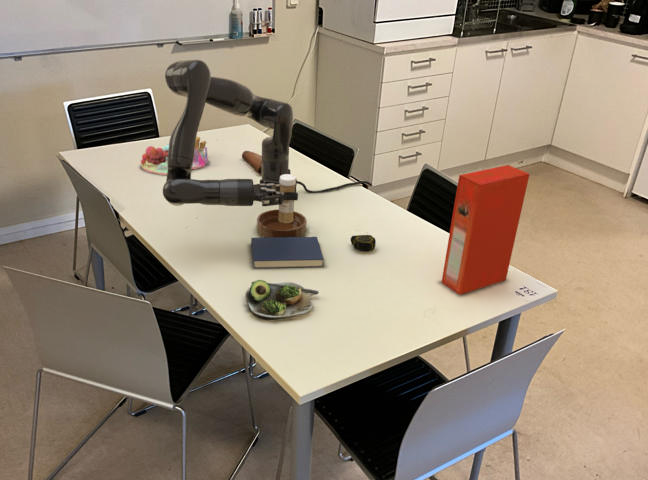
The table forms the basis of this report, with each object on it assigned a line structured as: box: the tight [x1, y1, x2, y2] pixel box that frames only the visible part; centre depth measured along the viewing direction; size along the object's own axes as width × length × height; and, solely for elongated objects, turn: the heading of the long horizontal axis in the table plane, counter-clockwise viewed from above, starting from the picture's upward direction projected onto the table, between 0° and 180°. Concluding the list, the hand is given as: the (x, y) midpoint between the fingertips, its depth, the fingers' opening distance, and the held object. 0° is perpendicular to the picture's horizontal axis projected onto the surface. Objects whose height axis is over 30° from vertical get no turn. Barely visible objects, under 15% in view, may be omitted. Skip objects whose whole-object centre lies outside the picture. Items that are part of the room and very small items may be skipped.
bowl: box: [256, 209, 308, 238], centre depth 209 cm, size 15×15×4 cm
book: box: [250, 236, 324, 269], centre depth 196 cm, size 14×20×3 cm
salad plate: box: [245, 279, 320, 321], centre depth 174 cm, size 19×18×5 cm
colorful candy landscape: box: [140, 136, 209, 176], centre depth 254 cm, size 25×24×9 cm
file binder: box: [441, 164, 530, 295], centre depth 180 cm, size 8×17×32 cm, turn 121°
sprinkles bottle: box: [278, 173, 297, 223], centre depth 189 cm, size 5×5×14 cm
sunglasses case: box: [241, 150, 262, 176], centre depth 256 cm, size 18×7×7 cm
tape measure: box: [350, 234, 377, 253], centre depth 201 cm, size 7×7×4 cm
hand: (296, 192), depth 188 cm, fingers closed on sprinkles bottle, 4 cm apart
